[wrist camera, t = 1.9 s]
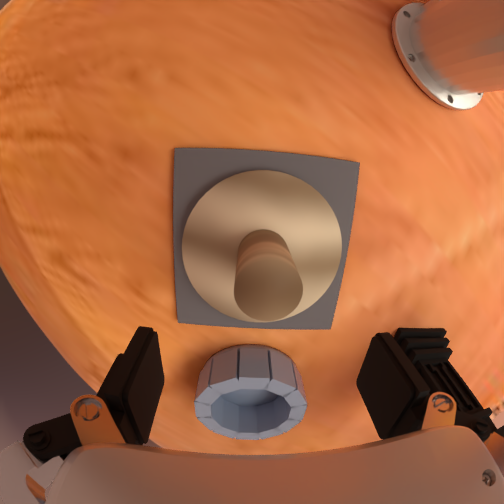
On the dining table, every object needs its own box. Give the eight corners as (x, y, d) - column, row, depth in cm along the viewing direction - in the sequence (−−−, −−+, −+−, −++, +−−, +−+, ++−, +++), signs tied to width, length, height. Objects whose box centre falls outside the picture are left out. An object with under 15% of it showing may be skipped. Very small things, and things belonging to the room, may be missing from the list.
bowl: (198, 340, 27) (191, 373, 22) (307, 344, 27) (316, 377, 22) (203, 405, 31) (198, 436, 26) (290, 408, 31) (295, 438, 26)
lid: (186, 166, 21) (154, 172, 13) (346, 178, 21) (391, 190, 14) (187, 310, 25) (167, 365, 18) (324, 316, 25) (346, 371, 18)
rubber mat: (176, 148, 21) (174, 147, 20) (357, 162, 21) (359, 162, 21) (179, 319, 26) (177, 322, 25) (328, 325, 26) (330, 329, 26)
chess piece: (398, 327, 27) (488, 465, 8) (443, 328, 28) (528, 435, 9) (372, 378, 30) (428, 509, 11) (417, 374, 30) (478, 482, 11)
